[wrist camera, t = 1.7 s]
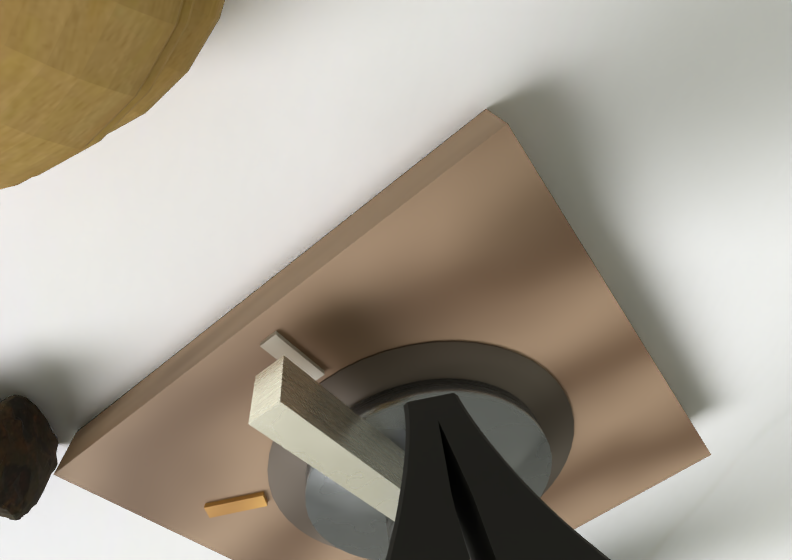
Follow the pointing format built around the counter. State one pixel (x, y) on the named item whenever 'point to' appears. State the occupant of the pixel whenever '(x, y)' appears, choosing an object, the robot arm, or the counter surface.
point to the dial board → (399, 358)
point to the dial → (378, 446)
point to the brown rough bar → (24, 456)
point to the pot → (87, 71)
